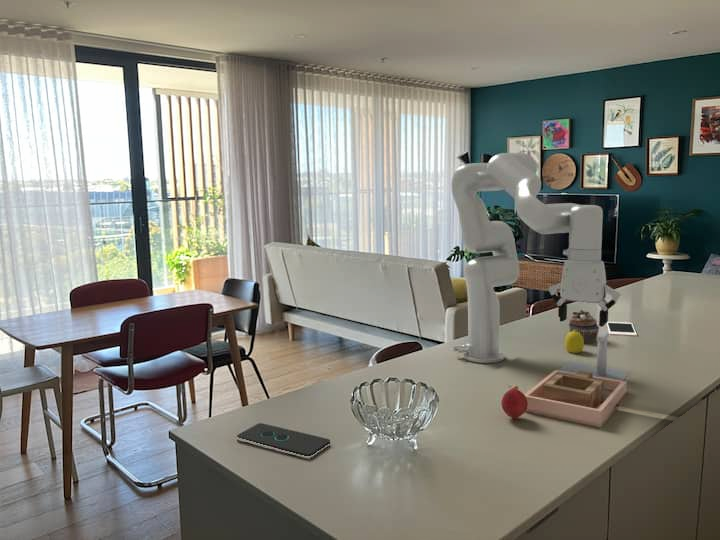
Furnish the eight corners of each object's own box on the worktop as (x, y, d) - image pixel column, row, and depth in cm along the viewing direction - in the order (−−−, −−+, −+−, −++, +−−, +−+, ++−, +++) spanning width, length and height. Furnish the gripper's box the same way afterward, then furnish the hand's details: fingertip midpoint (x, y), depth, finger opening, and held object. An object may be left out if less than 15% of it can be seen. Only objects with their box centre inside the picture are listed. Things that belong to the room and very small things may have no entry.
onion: (513, 425, 133) (513, 391, 132) (496, 417, 138) (496, 384, 137) (532, 420, 136) (533, 387, 135) (515, 412, 141) (515, 379, 140)
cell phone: (609, 335, 206) (609, 333, 206) (606, 323, 223) (606, 321, 223) (637, 337, 203) (637, 334, 203) (631, 325, 220) (632, 322, 220)
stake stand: (630, 375, 164) (632, 332, 162) (618, 389, 153) (620, 343, 151) (568, 365, 174) (569, 324, 172) (553, 378, 163) (554, 334, 162)
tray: (600, 427, 130) (601, 411, 130) (522, 411, 141) (522, 395, 141) (626, 396, 149) (626, 381, 148) (555, 383, 159) (555, 369, 159)
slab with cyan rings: (259, 421, 137) (331, 438, 127) (260, 428, 137) (331, 446, 127) (235, 435, 130) (308, 454, 120) (235, 442, 130) (309, 462, 120)
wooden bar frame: (589, 414, 136) (590, 393, 135) (542, 405, 142) (542, 385, 142) (608, 393, 148) (609, 374, 148) (564, 385, 155) (565, 367, 154)
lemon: (584, 358, 180) (585, 332, 179) (565, 357, 182) (566, 332, 180) (582, 353, 186) (582, 328, 185) (563, 352, 187) (564, 327, 186)
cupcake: (590, 345, 194) (590, 315, 192) (563, 340, 201) (563, 311, 199) (604, 340, 200) (605, 311, 198) (577, 335, 207) (578, 307, 206)
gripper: (544, 255, 148) (543, 321, 151) (617, 259, 137) (614, 331, 140) (555, 251, 154) (553, 315, 157) (625, 255, 143) (622, 324, 146)
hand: (582, 322), depth 148 cm, fingers open, 9 cm apart
